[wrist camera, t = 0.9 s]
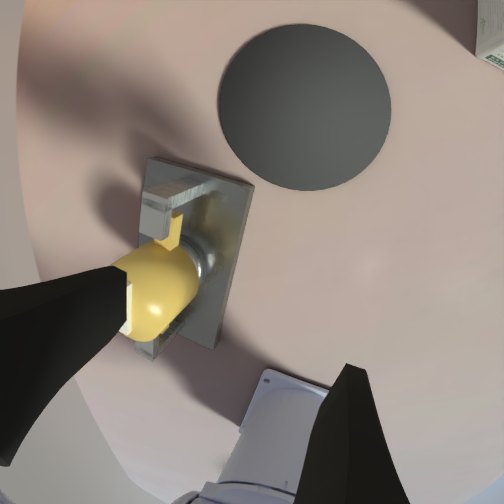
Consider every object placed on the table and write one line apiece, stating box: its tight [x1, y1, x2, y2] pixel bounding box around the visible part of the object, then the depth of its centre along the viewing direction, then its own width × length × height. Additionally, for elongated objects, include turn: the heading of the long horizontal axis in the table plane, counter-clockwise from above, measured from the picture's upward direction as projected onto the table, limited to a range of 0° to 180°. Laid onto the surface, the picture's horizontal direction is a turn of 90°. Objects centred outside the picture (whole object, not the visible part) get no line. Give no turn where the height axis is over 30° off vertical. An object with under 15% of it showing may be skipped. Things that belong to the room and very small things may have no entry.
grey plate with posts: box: [135, 157, 255, 362], centre depth 19 cm, size 12×7×5 cm, turn 167°
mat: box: [219, 25, 391, 191], centre depth 15 cm, size 9×9×1 cm
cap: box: [109, 210, 199, 342], centre depth 17 cm, size 8×4×4 cm, turn 167°
